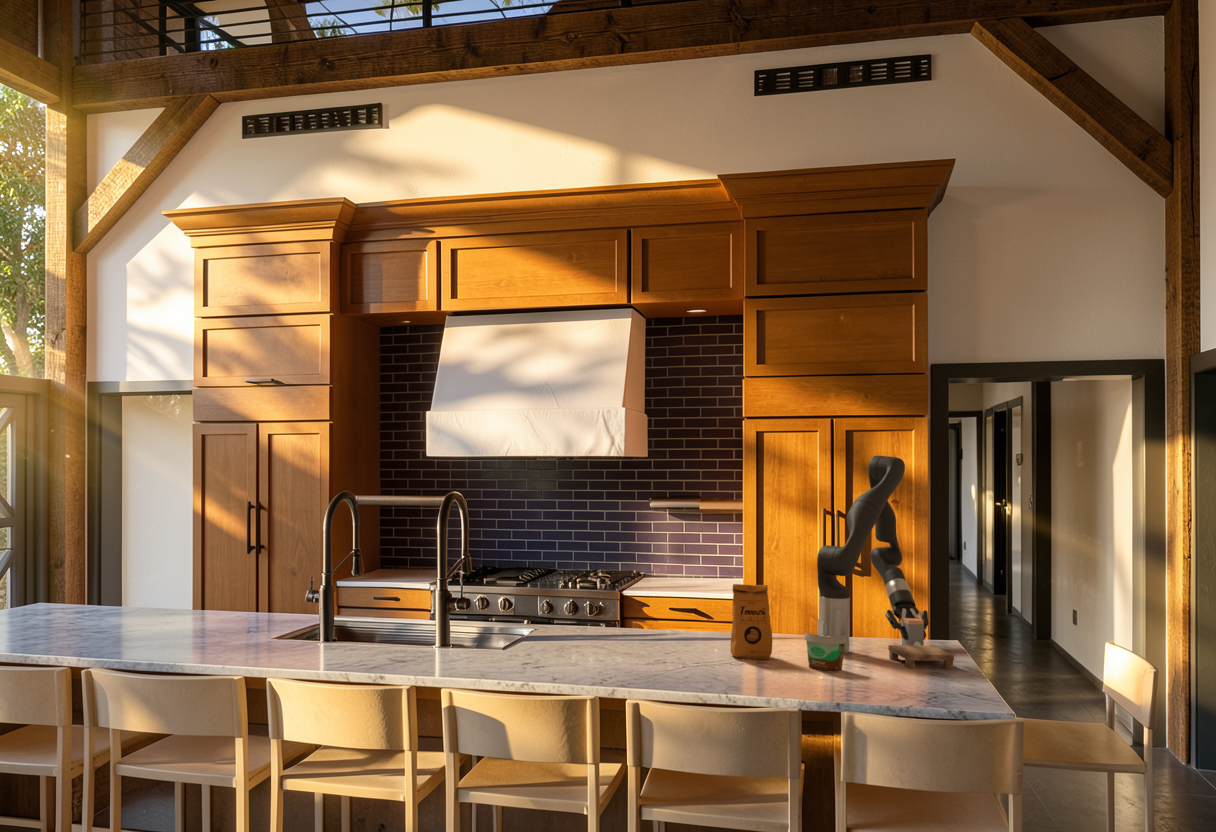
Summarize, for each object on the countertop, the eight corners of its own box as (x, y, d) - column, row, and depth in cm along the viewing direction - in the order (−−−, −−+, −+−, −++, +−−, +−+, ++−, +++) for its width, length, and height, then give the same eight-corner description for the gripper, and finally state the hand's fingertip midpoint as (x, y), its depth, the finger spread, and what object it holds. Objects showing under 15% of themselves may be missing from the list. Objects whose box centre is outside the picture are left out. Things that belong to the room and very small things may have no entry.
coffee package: (772, 661, 256) (773, 587, 257) (730, 659, 257) (731, 585, 259) (770, 654, 265) (771, 582, 267) (730, 652, 267) (731, 581, 268)
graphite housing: (910, 652, 274) (910, 621, 274) (901, 648, 280) (902, 617, 280) (925, 653, 274) (925, 621, 275) (916, 649, 280) (916, 618, 281)
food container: (798, 669, 247) (799, 633, 247) (804, 665, 252) (804, 630, 253) (842, 674, 241) (842, 638, 242) (846, 670, 247) (847, 635, 247)
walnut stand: (907, 668, 251) (907, 654, 251) (888, 658, 265) (888, 645, 265) (954, 669, 252) (954, 655, 252) (932, 658, 266) (932, 645, 266)
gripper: (882, 588, 286) (897, 631, 273) (924, 588, 287) (940, 632, 274) (876, 602, 290) (890, 645, 278) (917, 602, 292) (933, 645, 279)
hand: (915, 638), depth 276 cm, fingers closed on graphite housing, 5 cm apart
